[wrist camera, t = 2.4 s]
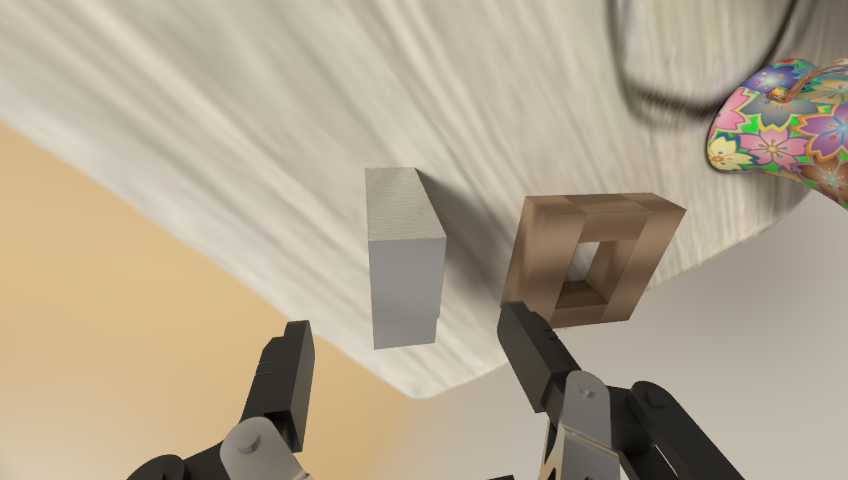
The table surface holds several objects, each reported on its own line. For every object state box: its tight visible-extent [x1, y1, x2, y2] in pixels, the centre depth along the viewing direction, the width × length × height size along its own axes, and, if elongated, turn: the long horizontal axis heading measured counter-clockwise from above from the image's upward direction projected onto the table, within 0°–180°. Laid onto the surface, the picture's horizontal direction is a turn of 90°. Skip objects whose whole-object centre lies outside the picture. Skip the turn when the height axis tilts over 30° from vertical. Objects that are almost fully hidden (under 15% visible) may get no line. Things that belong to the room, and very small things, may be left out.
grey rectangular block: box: [365, 168, 447, 350], centre depth 20 cm, size 7×4×10 cm, turn 178°
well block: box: [500, 193, 687, 329], centre depth 28 cm, size 12×12×4 cm
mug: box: [707, 57, 848, 211], centre depth 20 cm, size 12×9×11 cm
